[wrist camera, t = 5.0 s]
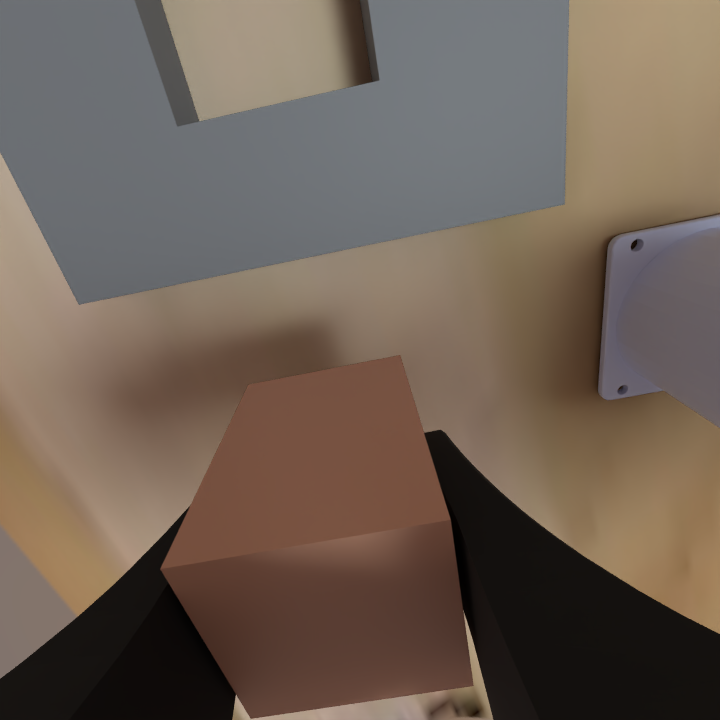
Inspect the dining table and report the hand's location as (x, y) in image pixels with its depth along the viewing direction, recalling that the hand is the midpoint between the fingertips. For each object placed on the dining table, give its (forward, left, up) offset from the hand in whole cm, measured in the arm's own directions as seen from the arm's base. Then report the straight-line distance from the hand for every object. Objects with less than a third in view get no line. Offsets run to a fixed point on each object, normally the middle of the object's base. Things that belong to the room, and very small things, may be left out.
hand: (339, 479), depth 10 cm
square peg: (0, 0, -2) cm, 2 cm away
